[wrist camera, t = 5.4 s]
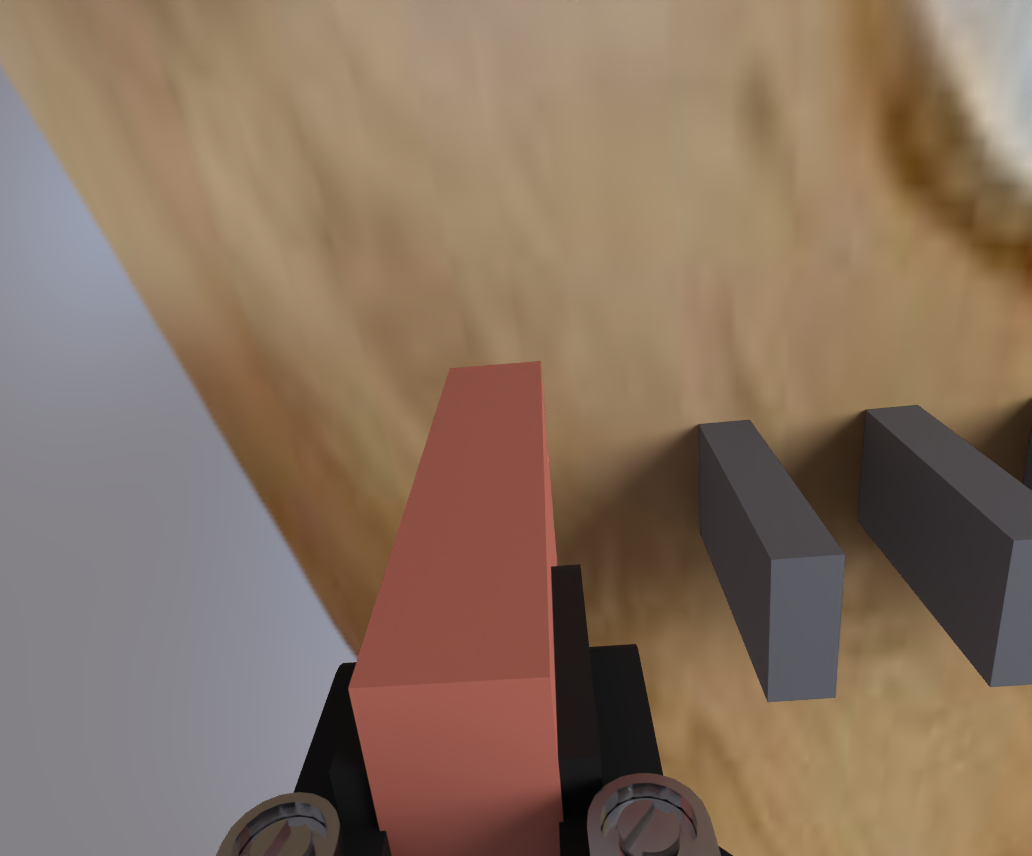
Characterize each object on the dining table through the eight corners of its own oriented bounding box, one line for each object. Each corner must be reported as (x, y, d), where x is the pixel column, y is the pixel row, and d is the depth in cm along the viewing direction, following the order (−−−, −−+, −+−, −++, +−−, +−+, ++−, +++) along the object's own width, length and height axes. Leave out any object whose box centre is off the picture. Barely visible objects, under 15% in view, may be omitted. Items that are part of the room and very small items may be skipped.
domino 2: (918, 404, 30) (1090, 535, 21) (906, 517, 32) (1060, 682, 23) (865, 409, 30) (1013, 540, 21) (857, 521, 32) (990, 687, 23)
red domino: (540, 361, 17) (550, 677, 7) (556, 557, 19) (579, 1000, 9) (449, 368, 17) (348, 688, 8) (475, 562, 19) (418, 1006, 9)
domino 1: (749, 419, 30) (845, 554, 21) (748, 530, 32) (835, 697, 23) (698, 424, 30) (771, 559, 21) (700, 533, 32) (767, 702, 23)
